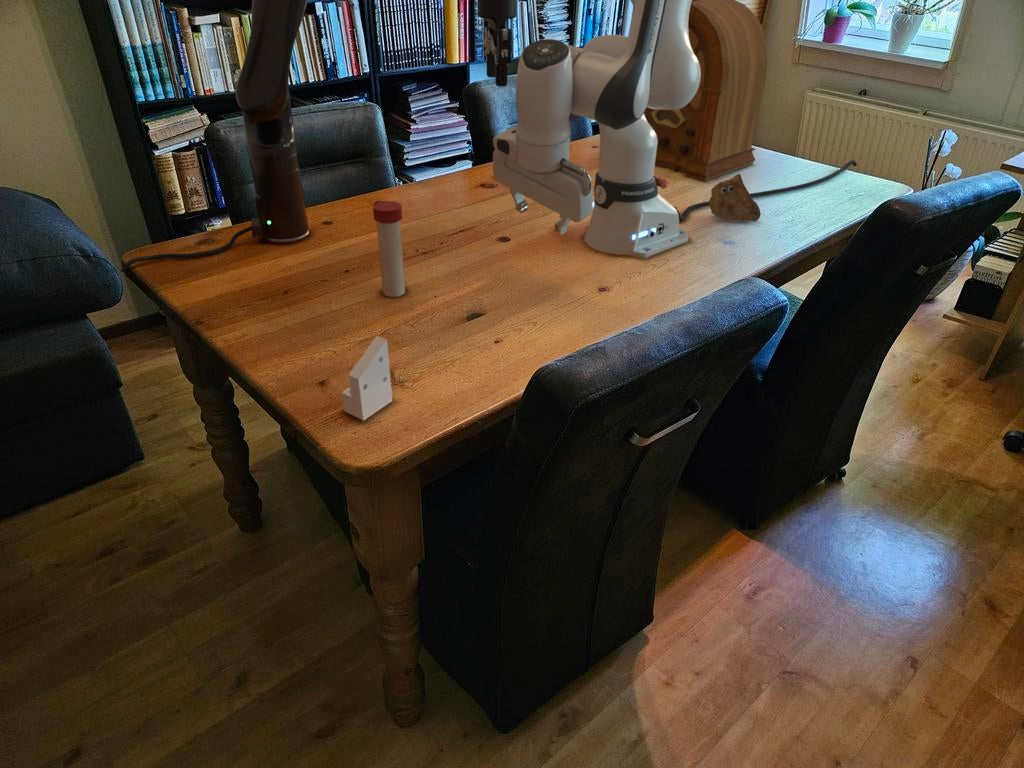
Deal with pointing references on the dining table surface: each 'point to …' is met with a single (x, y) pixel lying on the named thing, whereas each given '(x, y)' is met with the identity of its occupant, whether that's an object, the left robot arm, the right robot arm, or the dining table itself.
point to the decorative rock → (733, 201)
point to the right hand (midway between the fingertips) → (540, 220)
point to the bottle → (391, 258)
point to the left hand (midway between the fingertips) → (496, 81)
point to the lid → (387, 212)
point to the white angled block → (369, 382)
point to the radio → (716, 94)
